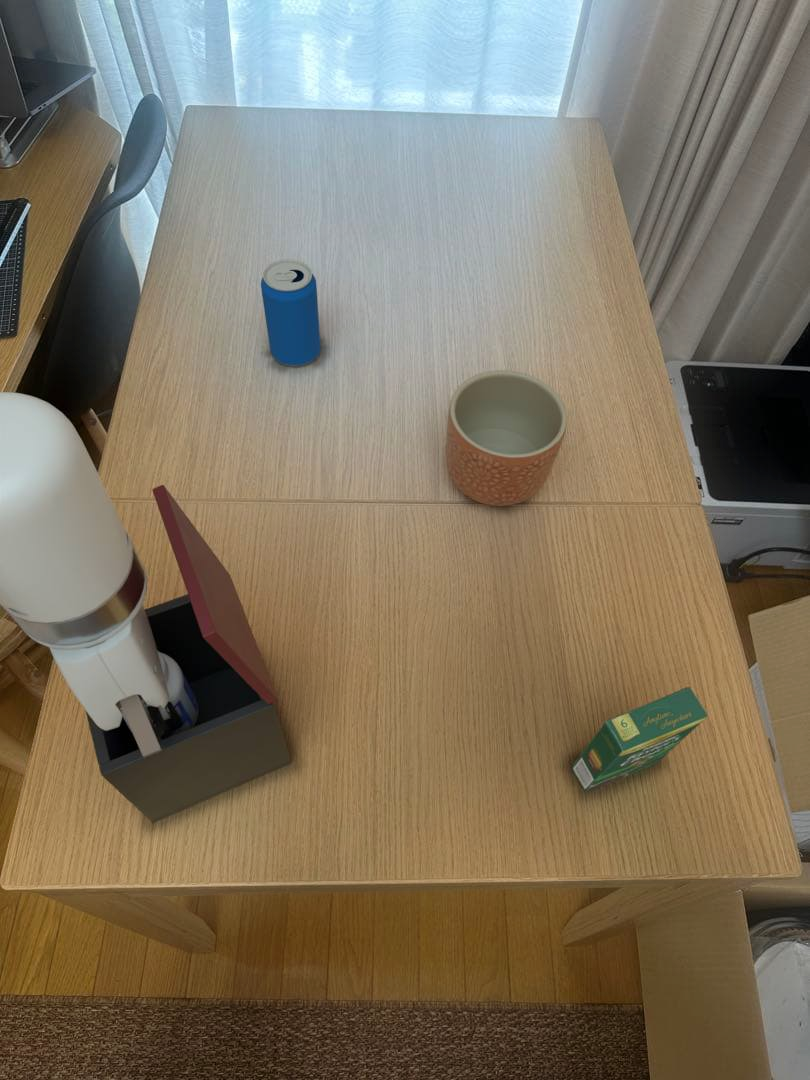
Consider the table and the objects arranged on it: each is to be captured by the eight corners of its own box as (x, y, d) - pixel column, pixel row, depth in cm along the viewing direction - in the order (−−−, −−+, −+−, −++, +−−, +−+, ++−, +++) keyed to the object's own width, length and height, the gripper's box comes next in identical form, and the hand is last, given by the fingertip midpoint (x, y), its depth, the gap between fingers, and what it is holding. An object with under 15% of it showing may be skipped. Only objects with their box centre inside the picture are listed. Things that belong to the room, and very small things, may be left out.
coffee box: (581, 797, 66) (623, 752, 55) (566, 767, 68) (604, 717, 57) (658, 765, 68) (713, 716, 57) (642, 737, 70) (692, 683, 59)
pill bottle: (146, 681, 63) (112, 630, 55) (207, 690, 63) (183, 640, 55) (124, 742, 60) (85, 698, 52) (188, 752, 60) (160, 709, 52)
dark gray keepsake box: (153, 823, 64) (100, 775, 51) (121, 705, 69) (67, 636, 57) (291, 763, 67) (274, 705, 55) (251, 655, 73) (226, 579, 60)
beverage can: (323, 368, 94) (318, 290, 84) (272, 372, 94) (261, 294, 84) (318, 333, 98) (312, 254, 88) (269, 337, 97) (257, 258, 87)
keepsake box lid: (202, 637, 42) (215, 631, 42) (151, 488, 48) (163, 483, 48) (268, 705, 54) (278, 700, 54) (221, 579, 60) (230, 575, 60)
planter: (419, 482, 85) (425, 417, 76) (479, 420, 91) (491, 352, 81) (509, 539, 81) (527, 478, 72) (566, 470, 87) (590, 405, 78)
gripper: (-16, 490, 46) (80, 622, 61) (33, 739, 38) (130, 821, 53) (106, 454, 48) (170, 591, 63) (178, 683, 39) (231, 777, 55)
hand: (151, 695), depth 58 cm, fingers closed on pill bottle, 5 cm apart
